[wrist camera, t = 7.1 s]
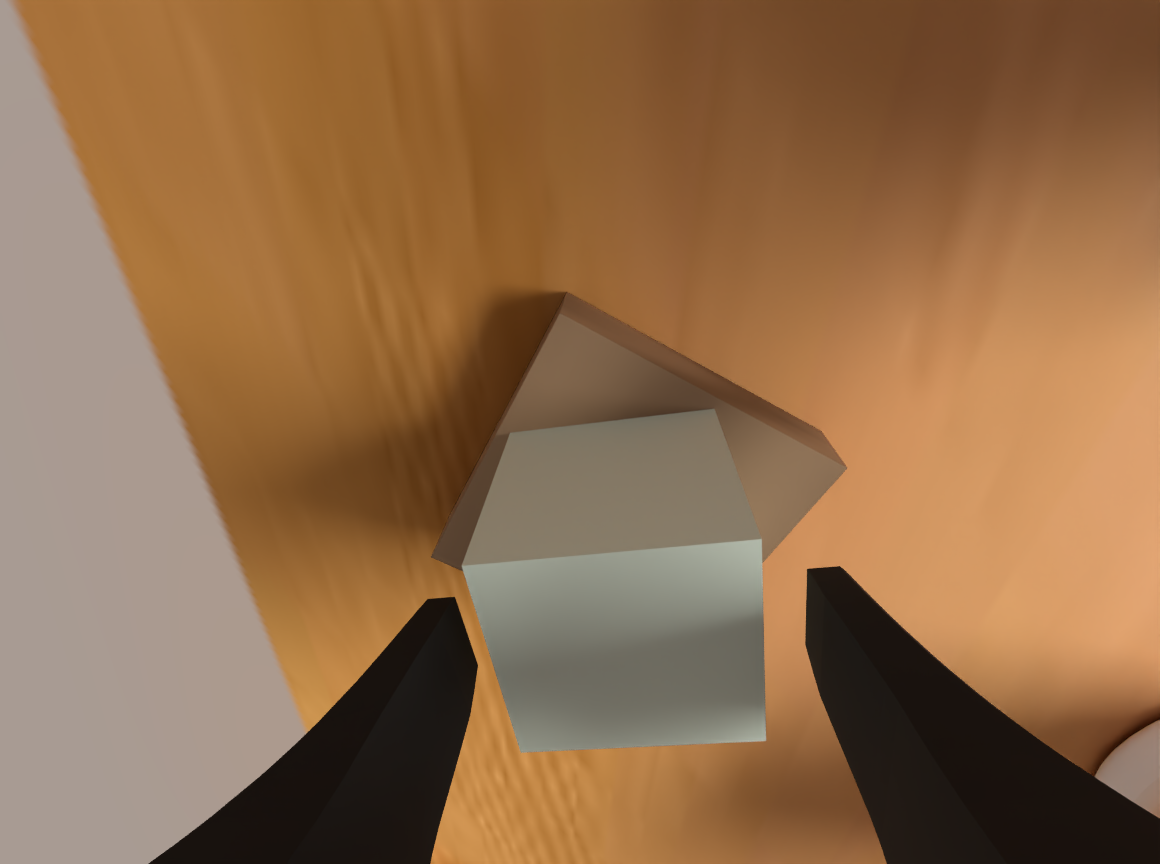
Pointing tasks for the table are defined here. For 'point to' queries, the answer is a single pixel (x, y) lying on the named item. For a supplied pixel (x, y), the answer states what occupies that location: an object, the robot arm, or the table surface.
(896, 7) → the table surface
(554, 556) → the painted cube
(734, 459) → the walnut plinth
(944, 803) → the robot arm
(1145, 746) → the jar
